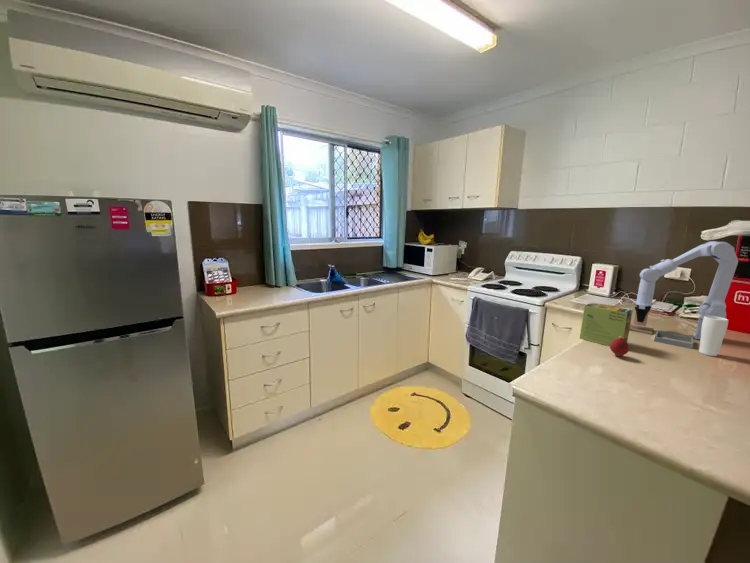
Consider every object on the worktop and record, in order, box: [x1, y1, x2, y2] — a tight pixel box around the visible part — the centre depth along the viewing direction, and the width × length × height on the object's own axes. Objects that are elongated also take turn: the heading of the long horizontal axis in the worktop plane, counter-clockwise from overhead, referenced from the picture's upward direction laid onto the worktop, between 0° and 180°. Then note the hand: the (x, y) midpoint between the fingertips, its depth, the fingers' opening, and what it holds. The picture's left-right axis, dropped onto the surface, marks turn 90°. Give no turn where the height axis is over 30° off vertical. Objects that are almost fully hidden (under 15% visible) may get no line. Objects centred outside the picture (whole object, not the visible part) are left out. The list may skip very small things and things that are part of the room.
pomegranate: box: [609, 336, 630, 357], centre depth 121 cm, size 6×6×8 cm
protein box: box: [579, 302, 634, 347], centre depth 137 cm, size 10×15×16 cm
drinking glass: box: [698, 316, 729, 357], centre depth 125 cm, size 7×7×15 cm
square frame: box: [653, 330, 694, 349], centre depth 140 cm, size 12×12×2 cm
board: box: [629, 323, 655, 336], centre depth 155 cm, size 10×10×1 cm
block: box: [633, 311, 650, 327], centre depth 154 cm, size 4×4×7 cm
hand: (640, 320), depth 154 cm, fingers closed on block, 4 cm apart
